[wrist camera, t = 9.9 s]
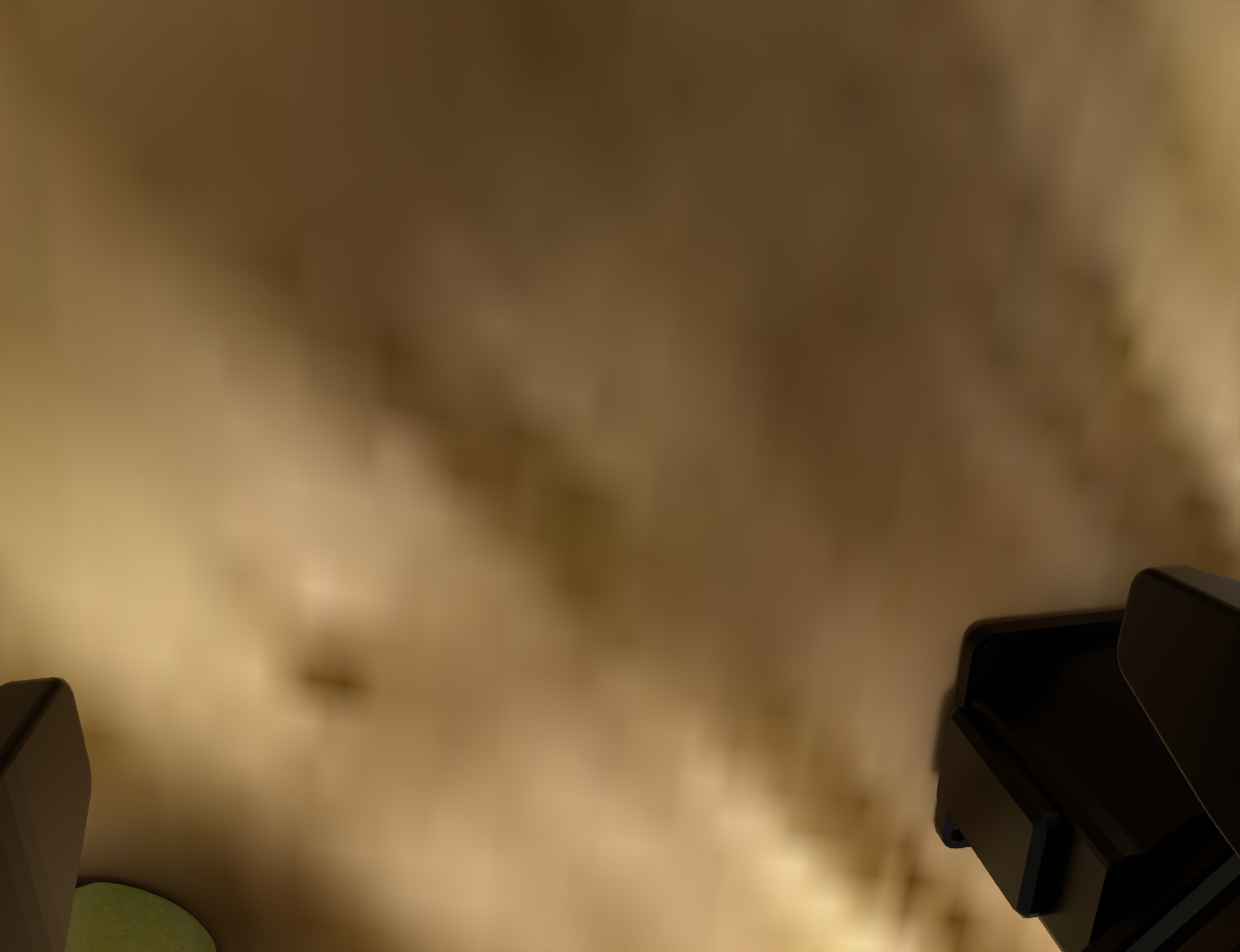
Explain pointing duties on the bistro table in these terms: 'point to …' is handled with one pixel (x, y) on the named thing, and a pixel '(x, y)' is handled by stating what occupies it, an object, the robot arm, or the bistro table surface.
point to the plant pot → (131, 922)
